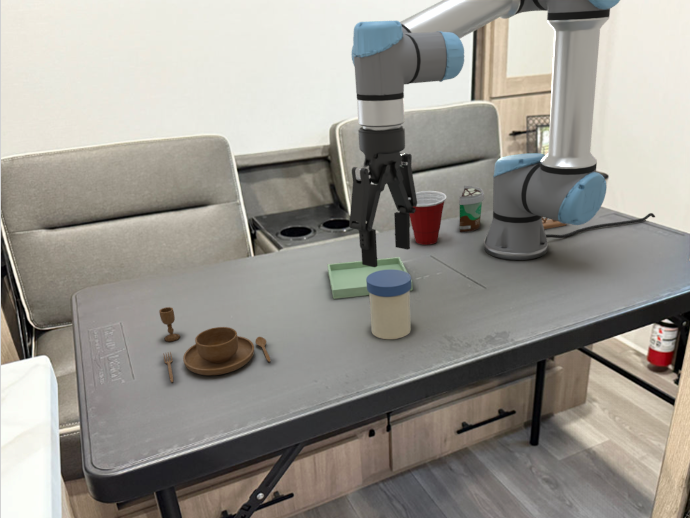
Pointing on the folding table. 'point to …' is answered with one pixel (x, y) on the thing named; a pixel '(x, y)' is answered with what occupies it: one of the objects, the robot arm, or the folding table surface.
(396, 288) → the lid
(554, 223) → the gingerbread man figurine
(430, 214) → the plastic cup
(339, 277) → the tray
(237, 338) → the place setting
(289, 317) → the folding table surface
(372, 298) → the jar
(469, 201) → the food container
